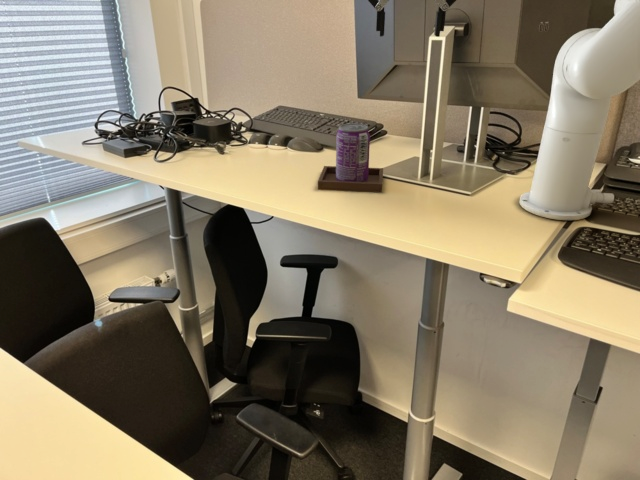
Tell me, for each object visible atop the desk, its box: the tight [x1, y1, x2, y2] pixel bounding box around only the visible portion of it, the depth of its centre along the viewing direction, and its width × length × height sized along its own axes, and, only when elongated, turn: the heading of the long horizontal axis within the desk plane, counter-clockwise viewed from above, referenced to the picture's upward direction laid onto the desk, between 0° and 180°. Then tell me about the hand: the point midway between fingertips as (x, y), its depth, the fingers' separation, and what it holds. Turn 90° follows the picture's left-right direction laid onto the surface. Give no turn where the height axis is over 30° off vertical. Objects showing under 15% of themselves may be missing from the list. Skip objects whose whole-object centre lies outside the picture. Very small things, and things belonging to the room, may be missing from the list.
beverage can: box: [335, 122, 371, 182], centre depth 100 cm, size 7×7×12 cm
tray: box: [317, 165, 384, 193], centre depth 103 cm, size 14×10×2 cm
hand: (409, 35), depth 83 cm, fingers open, 9 cm apart
